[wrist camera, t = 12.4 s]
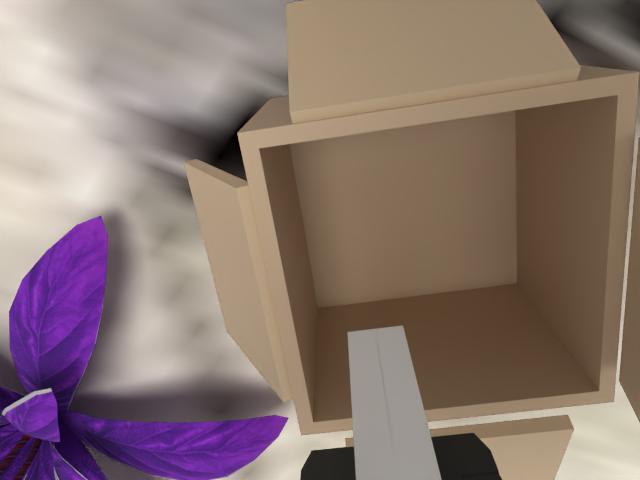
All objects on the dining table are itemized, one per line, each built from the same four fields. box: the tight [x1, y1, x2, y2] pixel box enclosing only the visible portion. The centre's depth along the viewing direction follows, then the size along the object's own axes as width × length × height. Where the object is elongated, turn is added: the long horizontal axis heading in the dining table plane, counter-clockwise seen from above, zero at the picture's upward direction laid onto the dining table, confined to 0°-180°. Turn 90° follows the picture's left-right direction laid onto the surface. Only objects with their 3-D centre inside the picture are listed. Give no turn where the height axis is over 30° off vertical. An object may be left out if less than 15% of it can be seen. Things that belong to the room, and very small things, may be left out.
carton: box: [184, 0, 640, 435], centre depth 22 cm, size 16×16×10 cm
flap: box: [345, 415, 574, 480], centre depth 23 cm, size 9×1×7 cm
